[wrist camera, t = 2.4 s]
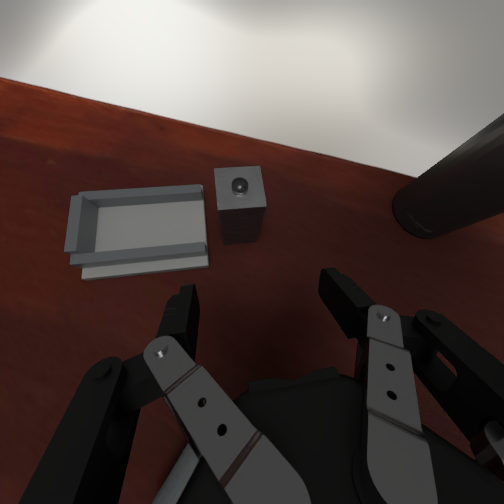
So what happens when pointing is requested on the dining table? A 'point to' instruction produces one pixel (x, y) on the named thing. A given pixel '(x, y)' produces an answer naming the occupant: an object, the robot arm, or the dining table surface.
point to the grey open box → (137, 231)
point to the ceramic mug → (177, 478)
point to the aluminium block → (240, 203)
